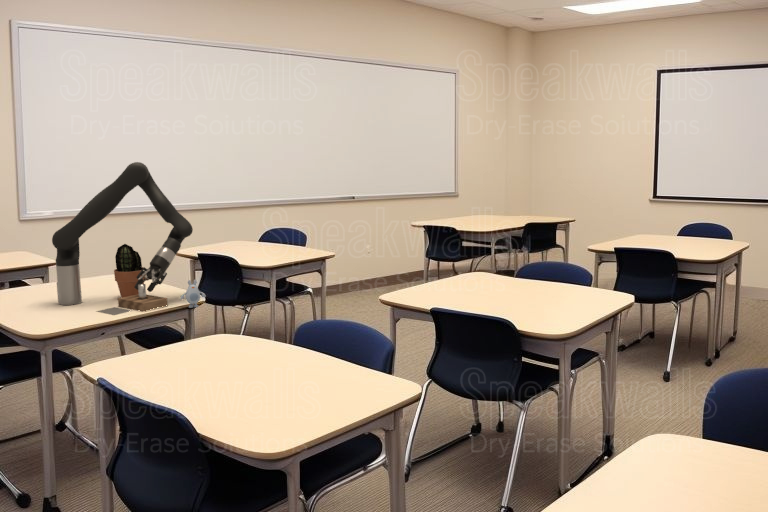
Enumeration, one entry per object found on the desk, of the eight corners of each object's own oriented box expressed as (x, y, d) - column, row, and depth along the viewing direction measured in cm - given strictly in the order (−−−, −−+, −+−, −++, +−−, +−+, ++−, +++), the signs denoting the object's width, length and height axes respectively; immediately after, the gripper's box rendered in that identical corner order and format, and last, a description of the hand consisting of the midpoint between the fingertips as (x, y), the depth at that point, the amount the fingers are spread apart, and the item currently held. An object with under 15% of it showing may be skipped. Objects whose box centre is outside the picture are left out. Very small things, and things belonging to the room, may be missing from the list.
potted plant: (148, 299, 311) (145, 244, 307) (116, 301, 305) (113, 246, 301) (146, 293, 323) (142, 240, 319) (115, 295, 317) (111, 242, 313)
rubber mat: (95, 312, 286) (95, 311, 286) (114, 308, 293) (114, 307, 293) (113, 316, 279) (113, 315, 279) (132, 311, 287) (132, 310, 286)
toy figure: (181, 310, 290) (180, 282, 288) (179, 306, 295) (178, 279, 293) (207, 307, 294) (206, 280, 292) (204, 304, 299) (203, 277, 298)
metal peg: (137, 307, 294) (136, 284, 292) (143, 306, 297) (142, 283, 295) (142, 308, 292) (141, 285, 291) (148, 307, 295) (146, 284, 293)
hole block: (118, 307, 294) (117, 298, 293) (142, 302, 304) (141, 293, 303) (144, 312, 285) (143, 303, 284) (167, 307, 295) (167, 298, 294)
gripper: (146, 253, 302) (126, 283, 294) (168, 255, 294) (147, 286, 287) (157, 263, 307) (137, 292, 300) (178, 266, 300) (158, 296, 292)
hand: (142, 289), depth 293 cm, fingers open, 8 cm apart
